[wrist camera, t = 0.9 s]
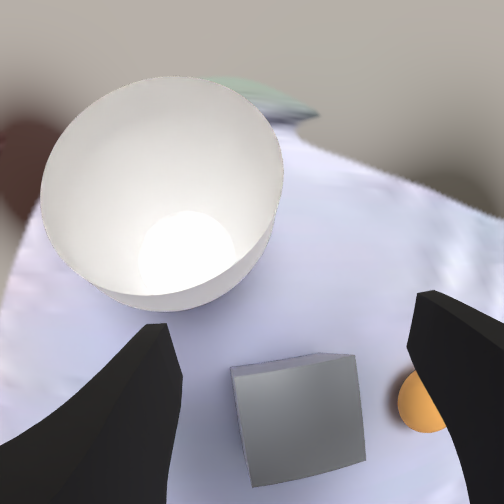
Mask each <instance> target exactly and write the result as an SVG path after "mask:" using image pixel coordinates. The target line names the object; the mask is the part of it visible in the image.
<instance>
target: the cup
mask: <svg viewBox="0 0 504 504" xmlns="http://www.w3.org/2000/svg"><path fill="white" fill-rule="evenodd" d="M283 174H284V170H283V159H282V154H281V149H280V146H279V143H278V140H277V137H276V135H275V133H274V131H273V129H272V127H271V126H270V124H269V122H268V121H267V120H266V118H265V117H264V116H263V114H262V113H261V112H260V111H259V110H258V109H257V108H256V107H255V106H254V105H253V104H252V103H251V102H250V101H248V100H247V99H246V98H244V97H243V96H241V95H240V94H238V93H237V92H235V91H233V90H231V89H229V88H227V87H225V86H223V85H220V84H218V83H215V82H212V81H208V80H204V79H199V78H194V77H185V76H166V77H156V78H150V79H146V80H141V81H137V82H134V83H131V84H128V85H126V86H123V87H120V88H118V89H116V90H114V91H112V92H110V93H108V94H106V95H104V96H103V97H101V98H100V99H98V100H96V101H95V102H94V103H92V104H91V105H90V106H88V107H87V108H86V109H85V110H83V111H82V112H81V113H80V114H79V115H78V116H77V117H76V118H75V119H74V120H73V121H72V122H71V123H70V125H69V126H68V127H67V128H66V129H65V131H64V132H63V133H62V135H61V136H60V138H59V139H58V141H57V143H56V144H55V146H54V148H53V150H52V152H51V154H50V156H49V159H48V161H47V164H46V167H45V170H44V174H43V179H42V184H41V195H40V202H41V213H42V219H43V223H44V227H45V230H46V233H47V235H48V238H49V240H50V242H51V244H52V246H53V248H54V249H55V251H56V252H57V253H58V255H59V256H60V258H61V259H62V260H63V261H64V262H65V263H66V264H67V265H68V266H69V267H70V268H71V269H72V270H73V271H74V272H75V273H77V274H78V275H80V276H81V277H82V278H84V279H85V280H87V281H88V282H89V283H91V284H92V285H94V286H95V287H96V288H97V289H99V290H100V291H101V292H102V293H104V294H105V295H107V296H108V297H110V298H112V299H113V300H115V301H117V302H119V303H122V304H124V305H127V306H130V307H133V308H137V309H141V310H147V311H155V312H173V311H181V310H187V309H191V308H195V307H198V306H201V305H204V304H206V303H209V302H211V301H213V300H215V299H217V298H219V297H220V296H222V295H223V294H225V293H227V292H228V291H230V290H231V289H232V288H233V287H235V286H236V285H237V284H238V283H239V282H240V281H241V280H242V279H243V278H244V277H245V276H246V275H247V274H248V273H249V272H250V271H251V269H252V268H253V267H254V266H255V264H256V263H257V261H258V260H259V258H260V257H261V255H262V253H263V252H264V250H265V248H266V246H267V243H268V241H269V238H270V236H271V232H272V229H273V225H274V219H275V215H276V211H277V207H278V204H279V200H280V197H281V193H282V186H283Z"/></svg>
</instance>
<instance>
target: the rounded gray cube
mask: <svg viewBox="0 0 504 504" xmlns="http://www.w3.org/2000/svg"><path fill="white" fill-rule="evenodd" d="M230 370H231V377H232V384H233V390H234V397H235V403H236V410H237V416H238V422H239V428H240V434H241V440H242V446H243V452H244V456H245V460H246V464H247V469H248V473H249V477H250V481H251V485H252V488H254V487H260V486H266V485H272V484H277V483H283V482H288V481H292V480H297V479H301V478H306V477H310V476H314V475H318V474H322V473H326V472H329V471H333V470H337V469H340V468H343V467H347V466H350V465H353V464H356V463H359V462H363V461H366V453H365V440H364V429H363V418H362V408H361V399H360V391H359V383H358V375H357V367H356V360H355V355H348V354H331V353H315V354H310V355H305V356H299V357H294V358H288V359H282V360H276V361H270V362H264V363H257V364H250V365H243V366H236V367H230Z"/></svg>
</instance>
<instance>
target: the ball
mask: <svg viewBox="0 0 504 504" xmlns="http://www.w3.org/2000/svg"><path fill="white" fill-rule="evenodd" d="M398 410H399V414H400V416H401V418H402V420H403V421H404V423H405V424H406V425H407V426H408V427H410V428H411V429H413V430H415V431H418V432H422V433H432V432H436V431H439V430H442V429H444V428H445V427H446V425H445V423H444V421H443V419H442V417H441V416H440V414H439V412H438V410H437V408H436V406H435V405H434V403H433V401H432V399H431V397H430V396H429V394H428V392H427V390H426V389H425V387H424V385H423V383H422V381H421V380H420V378H419V376H418V374H417V372H416V370H415V371H414V372H412V373H411V374H410V375H409V376H408V377H407V379H406V380H405V381H404V383H403V385H402V386H401V389H400V391H399V395H398Z"/></svg>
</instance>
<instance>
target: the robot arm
mask: <svg viewBox="0 0 504 504" xmlns="http://www.w3.org/2000/svg"><path fill="white" fill-rule="evenodd" d="M407 350H408V352H409V355H410V357H411V360H412V362H413V365H414V367H415V370H416V372H417V374H418V376H419V378H420V380H421V381H422V383H423V385H424V387H425V389H426V390H427V392H428V394H429V396H430V397H431V399H432V401H433V403H434V405H435V406H436V408H437V410H438V412H439V414H440V416H441V417H442V419H443V421H444V423H445V425H446V427H447V429H448V431H449V433H450V435H451V438H452V440H453V443H454V446H455V449H456V451H457V454H458V457H459V460H460V464H461V467H462V471H463V474H464V478H465V482H466V486H467V490H468V496H469V501H470V504H504V323H502V322H500V321H498V320H496V319H494V318H492V317H490V316H488V315H486V314H484V313H482V312H480V311H478V310H476V309H474V308H472V307H470V306H468V305H466V304H464V303H462V302H460V301H458V300H456V299H454V298H452V297H450V296H447V295H445V294H443V293H440V292H438V291H435V290H432V291H426V292H421V293H417V297H416V303H415V308H414V314H413V319H412V324H411V329H410V333H409V338H408V342H407ZM182 380H183V375H182V372H181V369H180V366H179V363H178V360H177V356H176V353H175V350H174V347H173V343H172V340H171V337H170V333H169V330H168V326H167V323H161V324H146V325H145V326H144V327H143V328H142V329H141V330H140V331H139V332H138V333H137V334H136V335H135V336H134V337H133V338H132V339H131V340H130V341H129V342H128V343H127V344H126V345H125V346H124V347H123V348H122V349H121V350H120V351H119V352H118V353H117V354H116V355H115V356H114V357H113V358H112V360H111V361H110V362H109V363H108V364H107V365H106V366H105V367H104V368H103V369H102V370H101V371H100V372H99V373H97V374H96V375H95V376H94V377H93V378H92V379H91V380H90V381H89V382H88V383H87V384H86V385H85V386H84V387H83V388H81V389H80V390H79V391H78V392H77V393H76V394H75V395H74V396H73V397H71V398H70V399H69V400H68V401H67V402H65V403H64V404H63V405H62V406H60V407H59V408H58V409H57V410H55V411H54V412H53V413H51V414H50V415H49V416H47V417H46V418H45V419H43V420H42V421H40V422H39V423H37V424H36V425H34V426H32V427H31V428H29V429H28V430H26V431H25V432H23V433H22V434H20V435H18V436H17V437H15V438H13V439H12V440H10V441H8V442H6V443H4V444H2V445H0V504H166V495H167V480H168V472H169V466H170V460H171V455H172V450H173V444H174V439H175V434H176V429H177V424H178V418H179V413H180V408H181V397H182Z"/></svg>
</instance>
